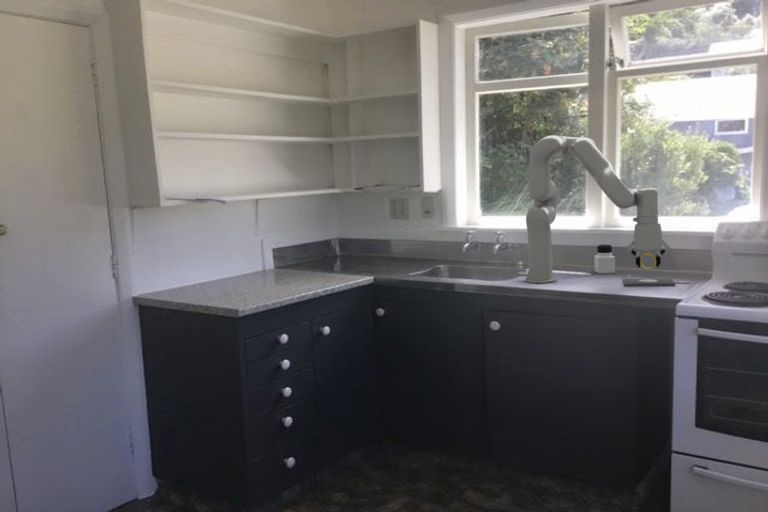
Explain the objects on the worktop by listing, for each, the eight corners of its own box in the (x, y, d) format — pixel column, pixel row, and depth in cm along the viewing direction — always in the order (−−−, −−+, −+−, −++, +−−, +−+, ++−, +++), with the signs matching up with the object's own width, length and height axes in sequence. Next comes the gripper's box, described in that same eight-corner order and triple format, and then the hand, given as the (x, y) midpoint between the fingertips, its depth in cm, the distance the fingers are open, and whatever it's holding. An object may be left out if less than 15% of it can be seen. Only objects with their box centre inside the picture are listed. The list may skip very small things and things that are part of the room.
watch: (640, 269, 264) (638, 254, 264) (641, 268, 266) (639, 253, 266) (656, 268, 261) (655, 253, 261) (657, 267, 263) (656, 252, 263)
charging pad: (624, 286, 261) (624, 283, 261) (622, 281, 273) (622, 278, 273) (693, 285, 255) (693, 283, 254) (688, 280, 266) (688, 277, 266)
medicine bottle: (615, 272, 294) (615, 245, 292) (599, 273, 294) (598, 246, 292) (610, 270, 301) (610, 243, 299) (594, 271, 301) (593, 244, 300)
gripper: (624, 222, 260) (625, 268, 263) (672, 220, 256) (673, 267, 258) (623, 220, 268) (623, 265, 270) (670, 218, 263) (671, 265, 265)
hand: (648, 266), depth 264 cm, fingers closed on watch, 6 cm apart
